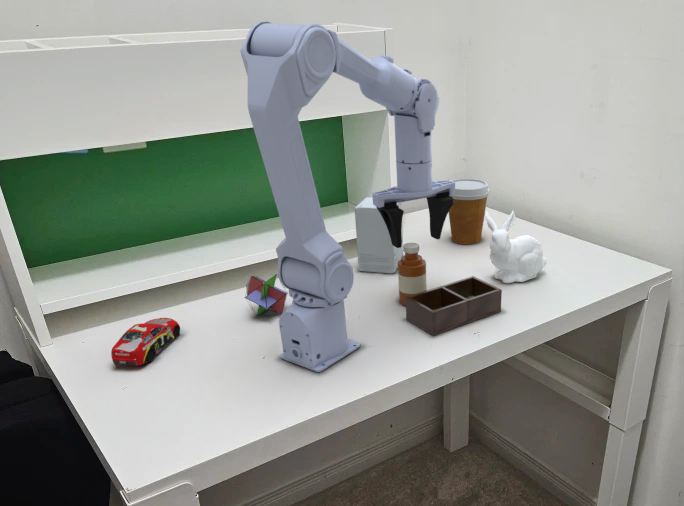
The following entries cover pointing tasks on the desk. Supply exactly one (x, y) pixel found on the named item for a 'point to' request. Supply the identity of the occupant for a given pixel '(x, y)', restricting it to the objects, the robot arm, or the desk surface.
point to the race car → (144, 341)
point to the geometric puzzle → (265, 294)
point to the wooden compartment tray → (453, 305)
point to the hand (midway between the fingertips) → (416, 241)
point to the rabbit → (514, 253)
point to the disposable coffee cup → (468, 210)
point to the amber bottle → (411, 272)
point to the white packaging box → (375, 240)
